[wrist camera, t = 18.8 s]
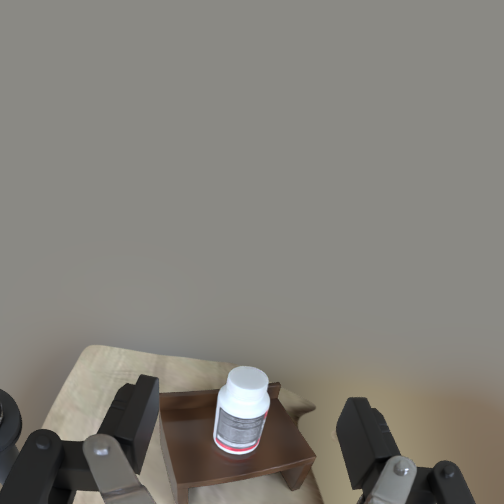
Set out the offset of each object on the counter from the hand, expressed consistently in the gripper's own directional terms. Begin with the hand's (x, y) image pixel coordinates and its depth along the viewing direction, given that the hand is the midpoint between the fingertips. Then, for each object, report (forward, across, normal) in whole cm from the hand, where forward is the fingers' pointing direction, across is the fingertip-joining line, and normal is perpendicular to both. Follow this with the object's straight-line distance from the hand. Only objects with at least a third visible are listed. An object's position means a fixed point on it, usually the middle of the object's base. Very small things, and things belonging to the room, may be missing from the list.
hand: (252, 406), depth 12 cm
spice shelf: (+15, -1, +28) cm, 32 cm away
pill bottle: (+15, -1, +20) cm, 25 cm away
